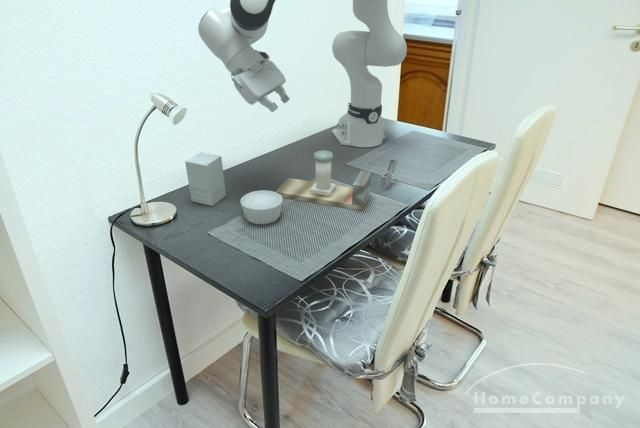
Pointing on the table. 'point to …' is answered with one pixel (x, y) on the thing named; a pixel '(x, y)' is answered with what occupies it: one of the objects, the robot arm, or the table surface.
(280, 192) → the rail mount
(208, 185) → the supplement box
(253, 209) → the ramekin
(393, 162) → the lighter
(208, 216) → the table surface
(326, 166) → the white upright cylinder
